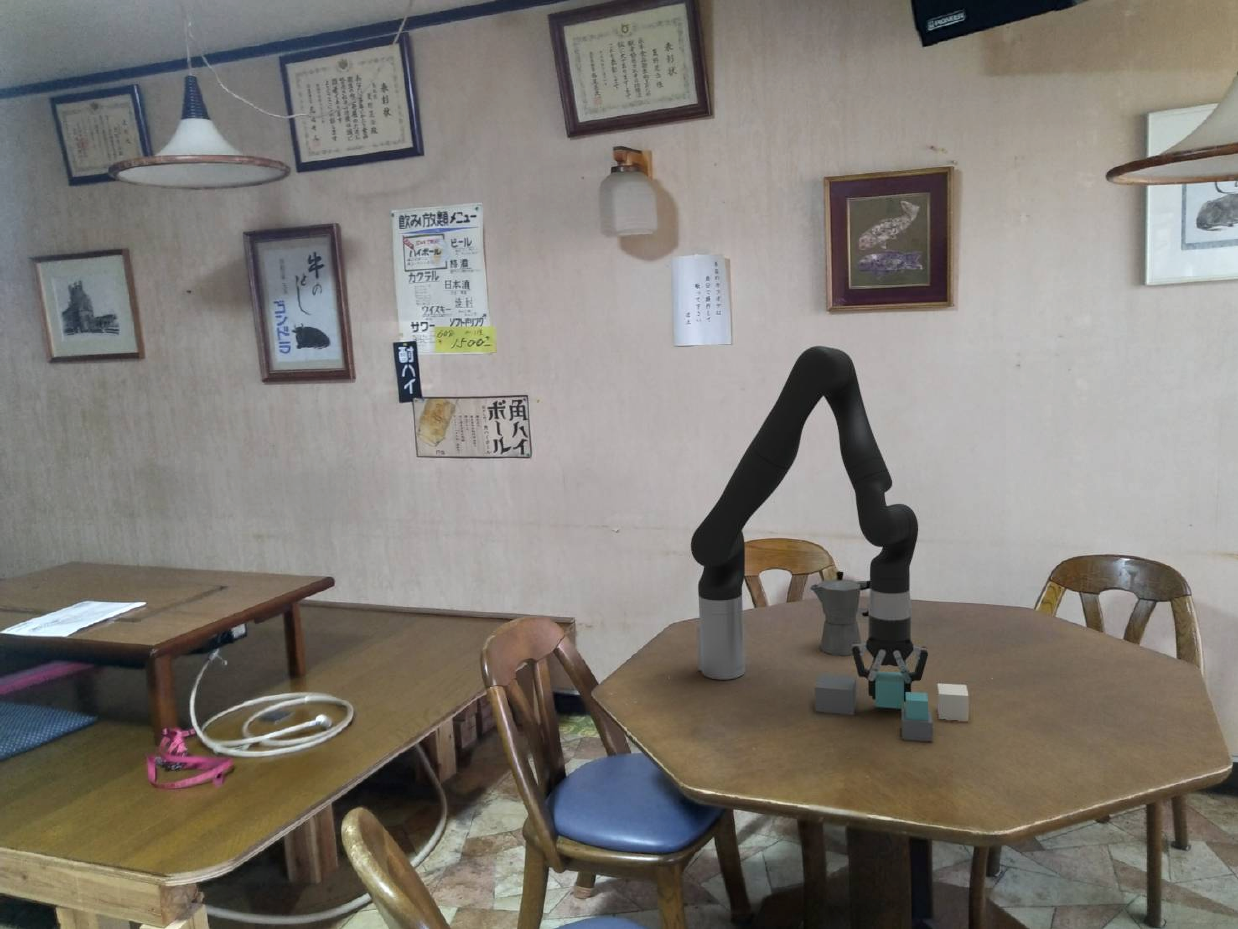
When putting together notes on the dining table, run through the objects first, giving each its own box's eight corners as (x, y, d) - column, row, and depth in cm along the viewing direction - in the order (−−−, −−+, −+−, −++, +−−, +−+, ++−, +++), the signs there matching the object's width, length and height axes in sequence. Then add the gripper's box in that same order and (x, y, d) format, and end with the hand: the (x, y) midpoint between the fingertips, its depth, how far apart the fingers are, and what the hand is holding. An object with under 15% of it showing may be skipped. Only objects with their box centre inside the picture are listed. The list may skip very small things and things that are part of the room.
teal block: (875, 706, 164) (875, 681, 164) (875, 696, 169) (875, 671, 168) (903, 708, 163) (903, 683, 162) (903, 698, 168) (903, 672, 167)
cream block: (939, 720, 161) (939, 694, 161) (937, 708, 166) (937, 683, 165) (968, 722, 160) (968, 695, 159) (966, 710, 165) (966, 685, 164)
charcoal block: (815, 712, 168) (814, 687, 167) (820, 697, 174) (819, 673, 173) (853, 715, 165) (853, 690, 164) (856, 700, 172) (856, 676, 171)
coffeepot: (815, 657, 195) (813, 578, 192) (808, 642, 204) (806, 567, 202) (886, 655, 194) (885, 575, 191) (875, 640, 203) (874, 564, 201)
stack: (902, 739, 154) (902, 701, 153) (901, 727, 159) (901, 690, 158) (932, 741, 153) (932, 703, 152) (931, 729, 158) (931, 691, 157)
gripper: (929, 607, 165) (928, 694, 167) (850, 604, 169) (850, 688, 172) (931, 620, 158) (930, 710, 160) (848, 616, 162) (849, 704, 165)
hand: (889, 698), depth 166 cm, fingers closed on teal block, 5 cm apart
